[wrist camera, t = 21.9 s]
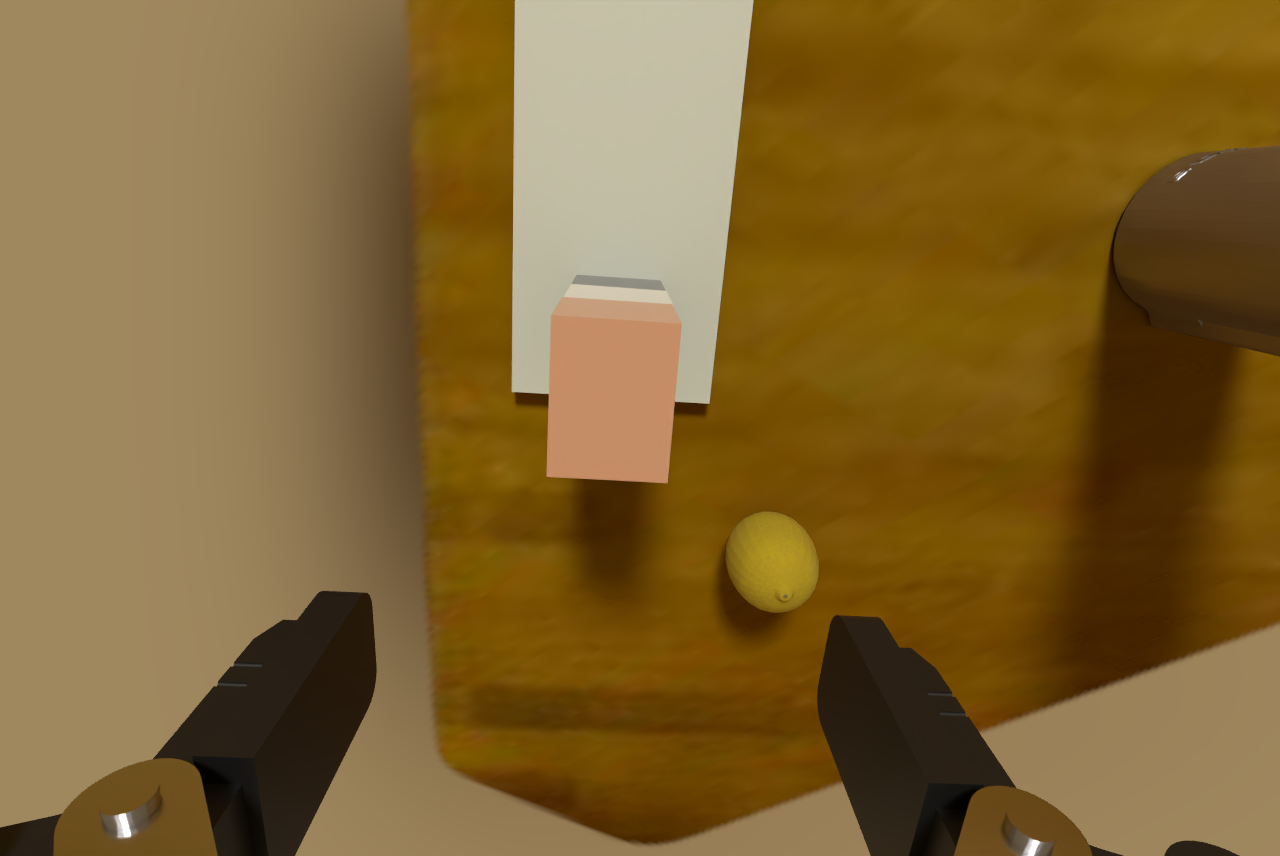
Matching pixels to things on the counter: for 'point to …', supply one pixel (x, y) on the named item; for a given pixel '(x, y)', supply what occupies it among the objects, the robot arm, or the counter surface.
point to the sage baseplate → (625, 162)
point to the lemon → (772, 562)
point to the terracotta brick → (612, 389)
